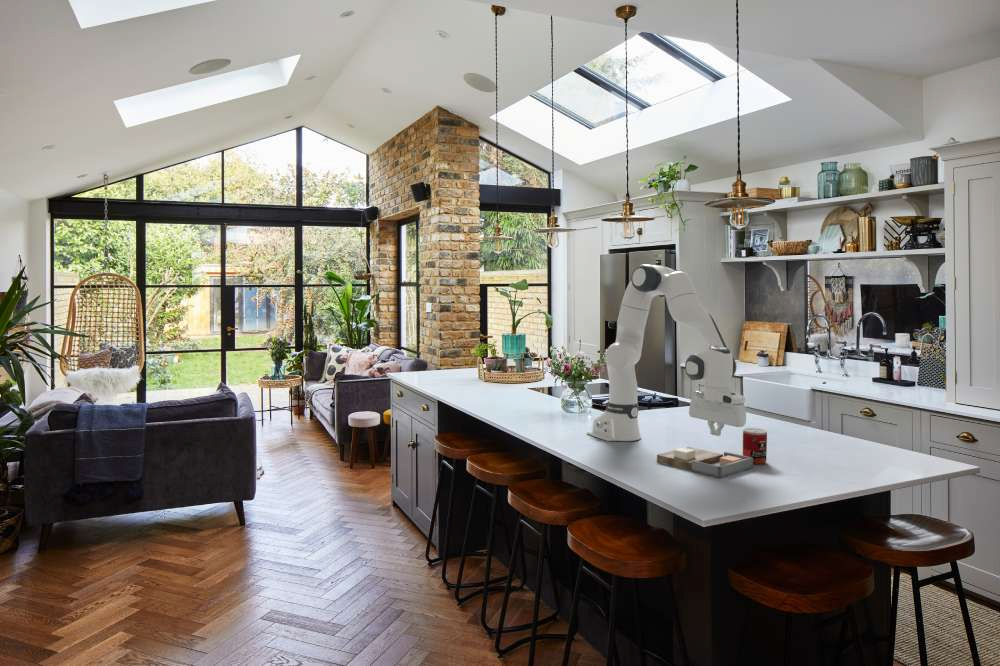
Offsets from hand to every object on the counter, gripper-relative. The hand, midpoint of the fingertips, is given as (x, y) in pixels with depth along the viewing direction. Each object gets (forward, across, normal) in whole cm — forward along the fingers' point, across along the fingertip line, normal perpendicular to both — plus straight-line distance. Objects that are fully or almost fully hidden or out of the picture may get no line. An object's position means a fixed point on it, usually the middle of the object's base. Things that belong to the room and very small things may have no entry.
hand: (715, 434), depth 222 cm
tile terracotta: (+9, +6, +1) cm, 11 cm away
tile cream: (+8, -6, -8) cm, 13 cm away
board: (+10, -7, -4) cm, 13 cm away
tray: (+10, +6, -3) cm, 12 cm away
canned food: (+10, +7, +14) cm, 18 cm away
